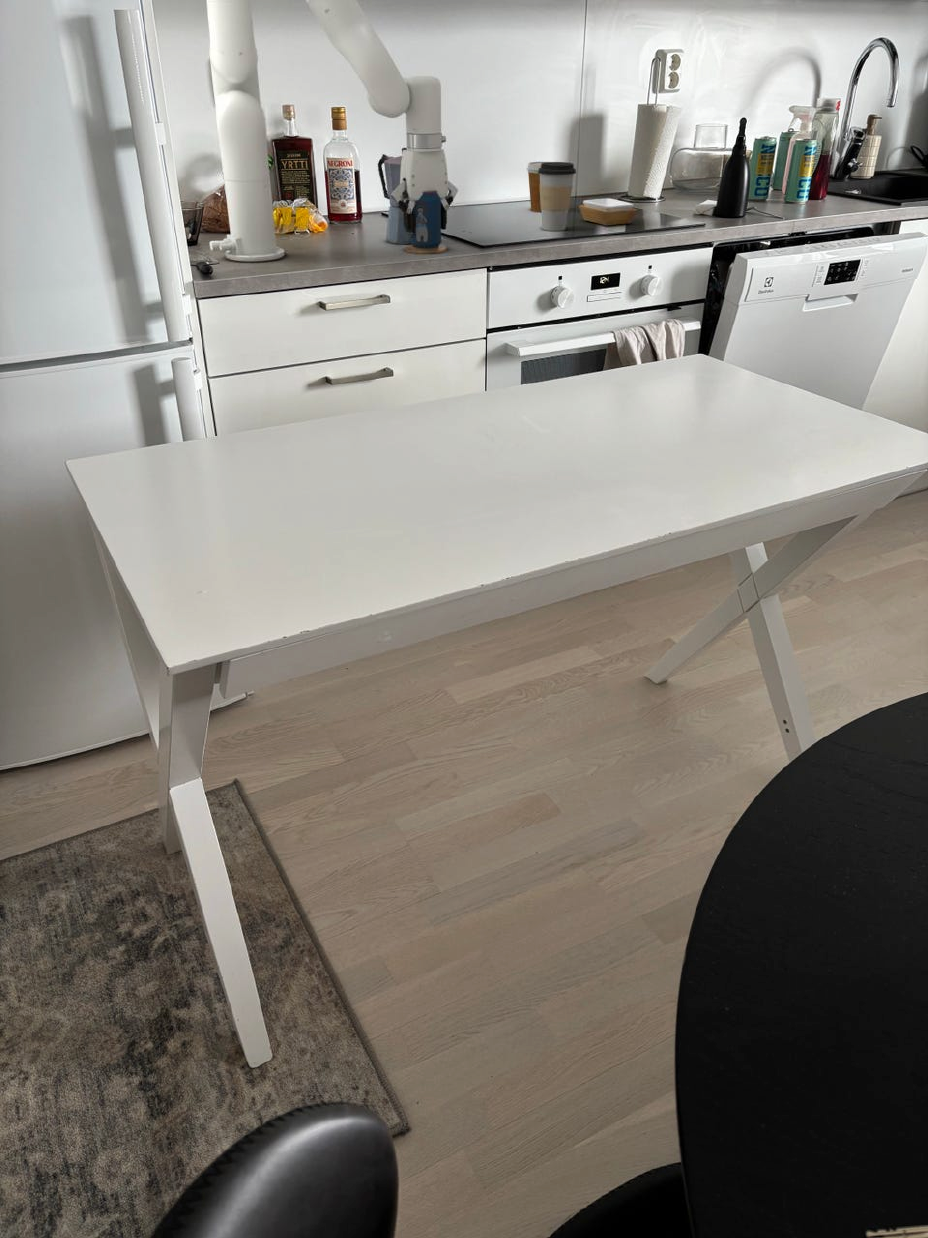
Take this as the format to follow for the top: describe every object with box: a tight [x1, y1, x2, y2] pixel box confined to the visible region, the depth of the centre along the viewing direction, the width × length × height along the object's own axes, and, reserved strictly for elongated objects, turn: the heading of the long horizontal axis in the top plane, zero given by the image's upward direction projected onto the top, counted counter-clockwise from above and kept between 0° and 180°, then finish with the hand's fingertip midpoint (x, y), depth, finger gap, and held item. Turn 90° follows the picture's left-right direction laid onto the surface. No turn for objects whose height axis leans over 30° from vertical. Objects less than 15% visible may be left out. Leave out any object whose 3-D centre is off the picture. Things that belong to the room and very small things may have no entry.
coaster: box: [405, 244, 447, 255], centre depth 211 cm, size 9×9×1 cm
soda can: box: [410, 191, 442, 250], centre depth 208 cm, size 7×7×12 cm
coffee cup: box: [538, 161, 577, 232], centre depth 232 cm, size 9×9×15 cm
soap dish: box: [578, 197, 638, 227], centre depth 243 cm, size 12×10×5 cm
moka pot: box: [377, 147, 412, 245], centre depth 215 cm, size 10×15×20 cm, turn 53°
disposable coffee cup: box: [526, 161, 546, 213], centre depth 259 cm, size 10×10×12 cm
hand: (425, 229), depth 209 cm, fingers open, 7 cm apart
